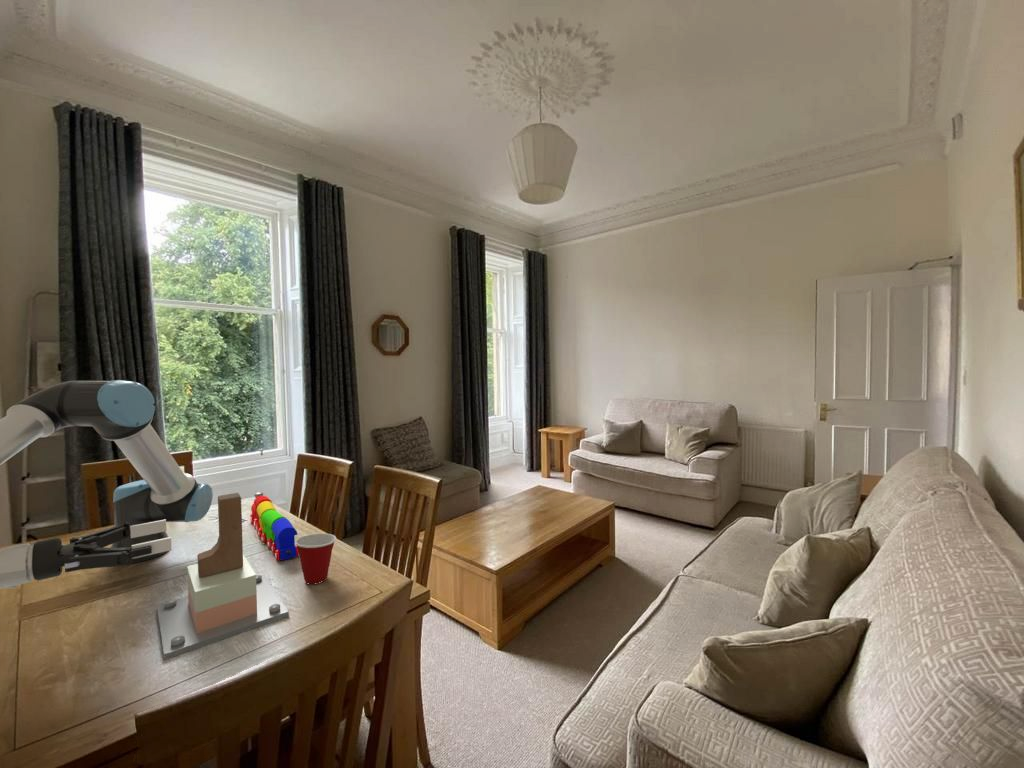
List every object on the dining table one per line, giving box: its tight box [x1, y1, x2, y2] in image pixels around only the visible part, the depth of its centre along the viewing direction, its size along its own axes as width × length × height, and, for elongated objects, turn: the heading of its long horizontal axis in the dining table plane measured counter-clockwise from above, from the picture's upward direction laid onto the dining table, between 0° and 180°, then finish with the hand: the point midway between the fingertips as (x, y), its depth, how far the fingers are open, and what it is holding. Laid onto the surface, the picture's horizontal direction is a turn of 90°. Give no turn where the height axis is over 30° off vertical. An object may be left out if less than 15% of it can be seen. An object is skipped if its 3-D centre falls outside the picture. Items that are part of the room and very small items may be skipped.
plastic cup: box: [295, 533, 337, 585], centre depth 126 cm, size 11×11×12 cm
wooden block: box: [197, 492, 244, 578], centre depth 108 cm, size 9×4×18 cm, turn 128°
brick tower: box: [156, 553, 290, 661], centre depth 109 cm, size 24×24×11 cm
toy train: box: [249, 491, 299, 562], centre depth 154 cm, size 45×7×11 cm, turn 41°
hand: (168, 533), depth 102 cm, fingers open, 13 cm apart
